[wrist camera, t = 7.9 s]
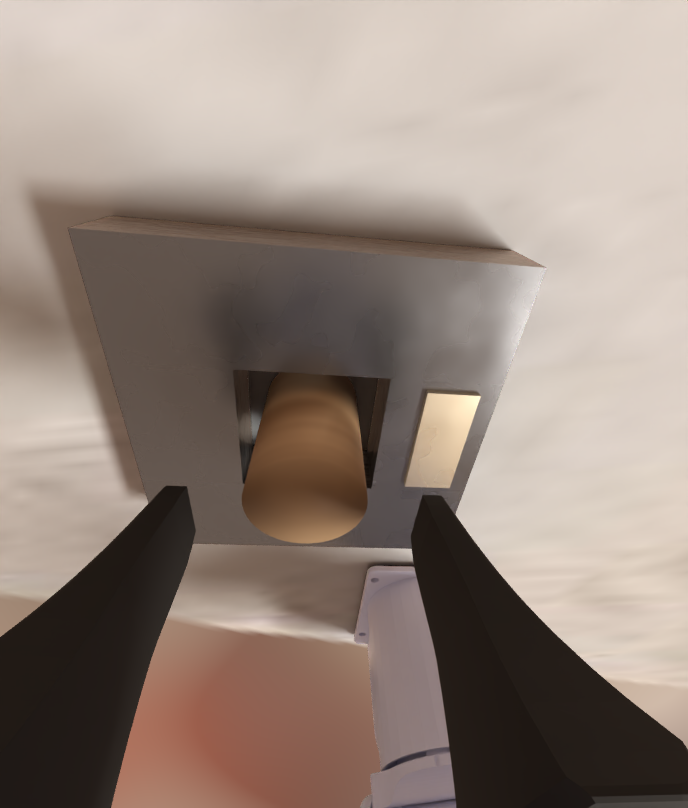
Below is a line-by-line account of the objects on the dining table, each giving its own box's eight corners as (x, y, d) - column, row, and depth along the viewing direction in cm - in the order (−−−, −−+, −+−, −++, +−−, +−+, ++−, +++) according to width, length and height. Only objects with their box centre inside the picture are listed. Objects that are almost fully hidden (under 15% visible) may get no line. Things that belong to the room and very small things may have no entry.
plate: (431, 510, 21) (443, 552, 19) (177, 502, 20) (158, 546, 18) (513, 250, 14) (549, 269, 11) (111, 215, 12) (63, 229, 10)
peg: (349, 439, 18) (357, 546, 13) (266, 432, 18) (242, 540, 13) (362, 366, 16) (378, 462, 11) (268, 357, 16) (240, 451, 11)
